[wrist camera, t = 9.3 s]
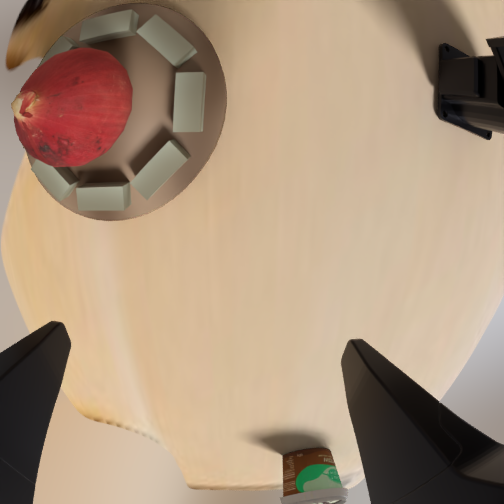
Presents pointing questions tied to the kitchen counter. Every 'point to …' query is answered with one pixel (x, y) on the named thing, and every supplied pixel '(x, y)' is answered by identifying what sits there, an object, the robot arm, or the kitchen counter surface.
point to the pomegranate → (73, 107)
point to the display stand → (145, 113)
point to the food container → (311, 478)
